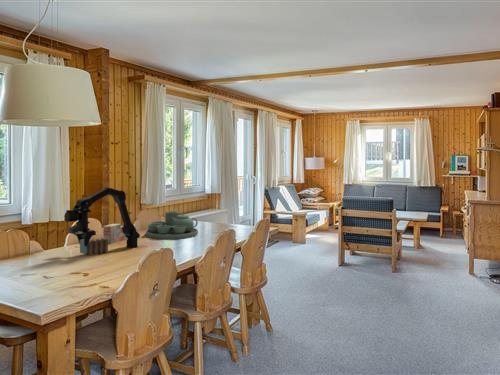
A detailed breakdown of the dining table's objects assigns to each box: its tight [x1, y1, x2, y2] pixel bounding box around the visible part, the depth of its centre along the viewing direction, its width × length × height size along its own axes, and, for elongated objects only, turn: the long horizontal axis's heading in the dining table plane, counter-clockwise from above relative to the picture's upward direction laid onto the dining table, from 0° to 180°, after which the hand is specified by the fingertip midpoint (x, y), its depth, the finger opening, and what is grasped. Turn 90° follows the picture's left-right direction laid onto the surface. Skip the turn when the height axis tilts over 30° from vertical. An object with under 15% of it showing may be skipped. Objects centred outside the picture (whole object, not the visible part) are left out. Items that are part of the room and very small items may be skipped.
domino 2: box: [90, 239, 99, 255], centre depth 266 cm, size 2×5×8 cm, turn 51°
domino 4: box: [100, 238, 109, 253], centre depth 272 cm, size 2×5×8 cm, turn 51°
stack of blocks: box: [102, 223, 128, 245], centre depth 307 cm, size 21×6×12 cm, turn 162°
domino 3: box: [95, 238, 104, 254], centre depth 269 cm, size 2×5×8 cm, turn 51°
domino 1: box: [86, 240, 93, 256], centre depth 263 cm, size 2×5×8 cm, turn 51°
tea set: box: [145, 210, 199, 240], centre depth 336 cm, size 40×40×16 cm
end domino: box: [79, 239, 87, 255], centre depth 260 cm, size 2×5×8 cm, turn 51°
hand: (83, 245), depth 260 cm, fingers closed on end domino, 5 cm apart
